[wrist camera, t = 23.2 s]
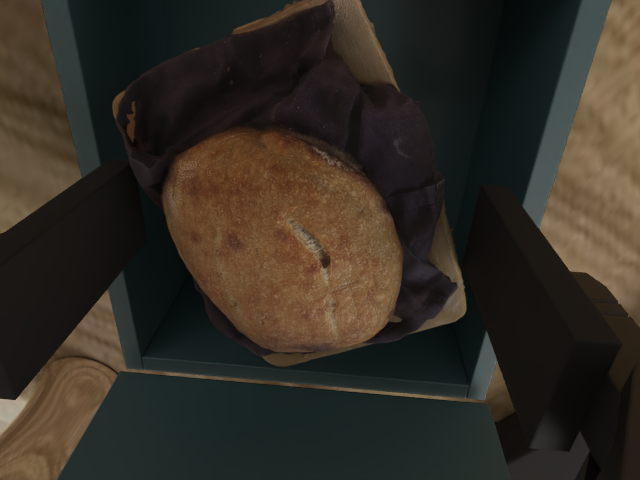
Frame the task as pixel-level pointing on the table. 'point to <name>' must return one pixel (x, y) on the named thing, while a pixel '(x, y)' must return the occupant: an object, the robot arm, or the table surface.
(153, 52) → the bread box
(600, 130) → the table surface
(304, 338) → the bread roll
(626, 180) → the table surface
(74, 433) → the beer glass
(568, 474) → the external hard drive
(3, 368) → the robot arm
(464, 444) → the bread box lid
